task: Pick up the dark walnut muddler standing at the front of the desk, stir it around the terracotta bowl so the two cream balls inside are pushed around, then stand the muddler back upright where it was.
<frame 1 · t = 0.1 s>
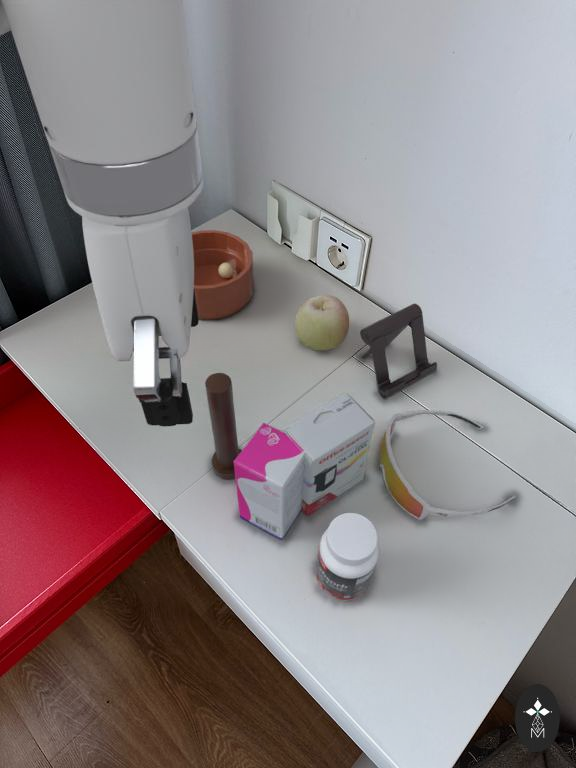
hand: (175, 369, 44), 26 cm above the table, tool pointing down, fingers open, 9 cm apart
ink box: (323, 484, 67), on the table, touching supplement box
pill bottle: (342, 575, 60), on the table
bowl: (210, 291, 88), on the table
supplement box: (273, 509, 65), on the table, touching ink box
ball b: (192, 293, 85), point 2 cm above the table, touching bowl
muddler: (229, 465, 69), on the table
ball a: (226, 270, 88), point 2 cm above the table, touching bowl
fruit: (321, 341, 82), on the table
tablet stand: (391, 370, 79), on the table
sunglasses: (438, 471, 69), on the table
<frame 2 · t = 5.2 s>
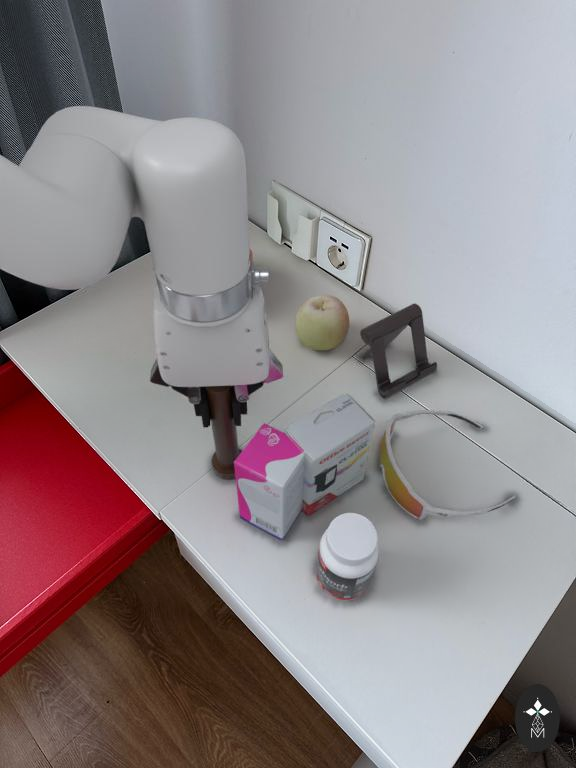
hand: (222, 415, 61), 10 cm above the table, tool pointing down, fingers closed on muddler, 2 cm apart
muddler: (229, 465, 69), on the table, touching gripper
everything else where it was.
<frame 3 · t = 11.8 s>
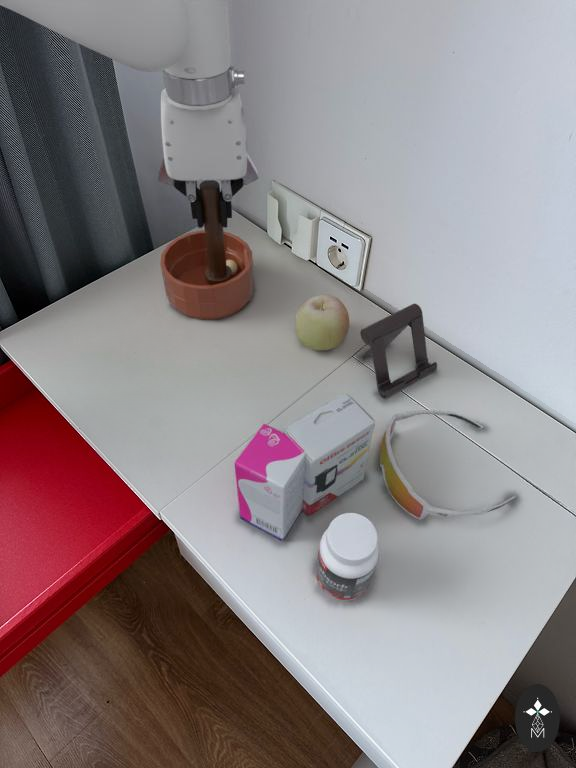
hand: (212, 220, 79), 12 cm above the table, tool pointing down, fingers closed on muddler, 2 cm apart
muddler: (219, 278, 87), point 2 cm above the table, touching ball a, gripper
ball a: (229, 267, 89), point 2 cm above the table, tilted 40°, touching bowl, muddler
everything else where it was.
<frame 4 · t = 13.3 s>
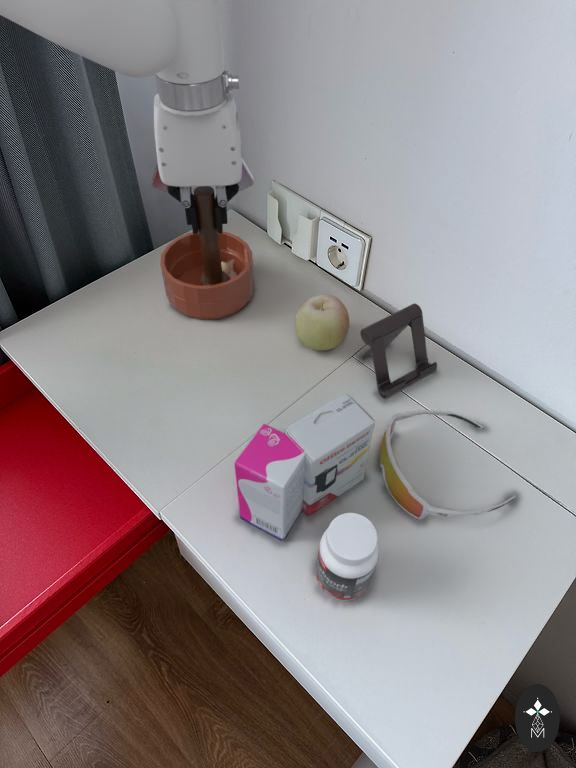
hand: (208, 226, 78), 13 cm above the table, tool pointing down, fingers closed on muddler, 2 cm apart
ball b: (194, 299, 84), point 2 cm above the table, tilted 44°, touching bowl
muddler: (214, 284, 85), point 2 cm above the table, touching gripper
ball a: (222, 269, 88), point 2 cm above the table, tilted 19°, touching bowl
everything else where it was.
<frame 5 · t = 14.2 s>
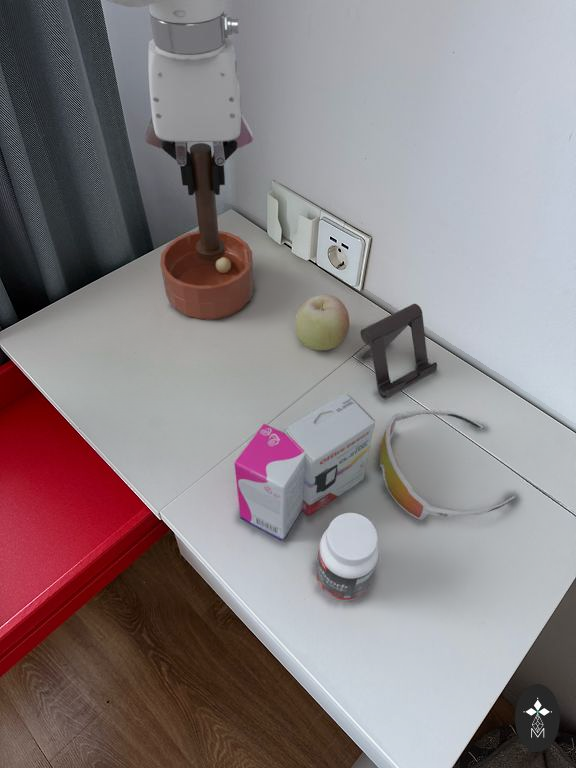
hand: (204, 188, 74), 18 cm above the table, tool pointing down, fingers closed on muddler, 2 cm apart
muddler: (210, 252, 82), point 8 cm above the table, touching gripper
ball a: (223, 265, 89), point 2 cm above the table, tilted 32°, touching bowl
everything else where it was.
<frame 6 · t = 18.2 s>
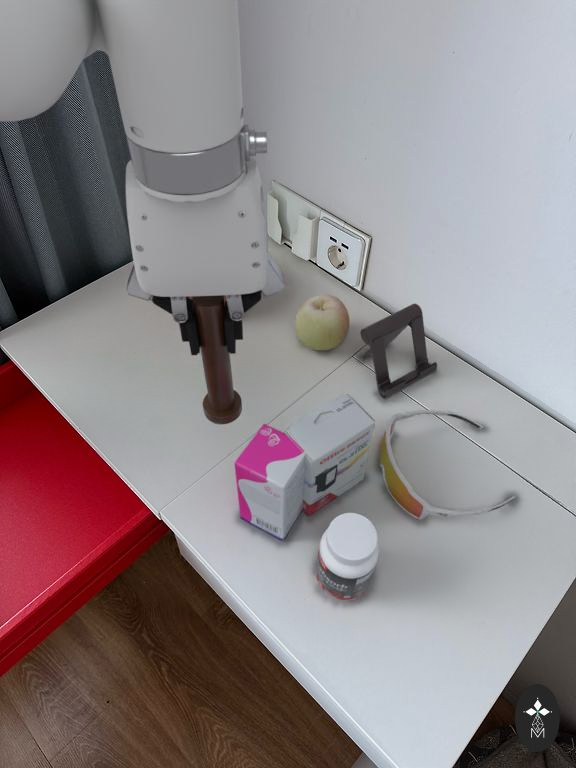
hand: (213, 341, 52), 21 cm above the table, tool pointing down, fingers closed on muddler, 2 cm apart
ball b: (195, 298, 84), point 2 cm above the table, tilted 33°, touching bowl
muddler: (223, 409, 60), point 11 cm above the table, touching gripper
ball a: (212, 275, 87), point 2 cm above the table, tilted 107°, touching bowl
everything else where it was.
when the fingers open (10 cm above the table, at t = 21.4 s): muddler stays where it is, on the table.
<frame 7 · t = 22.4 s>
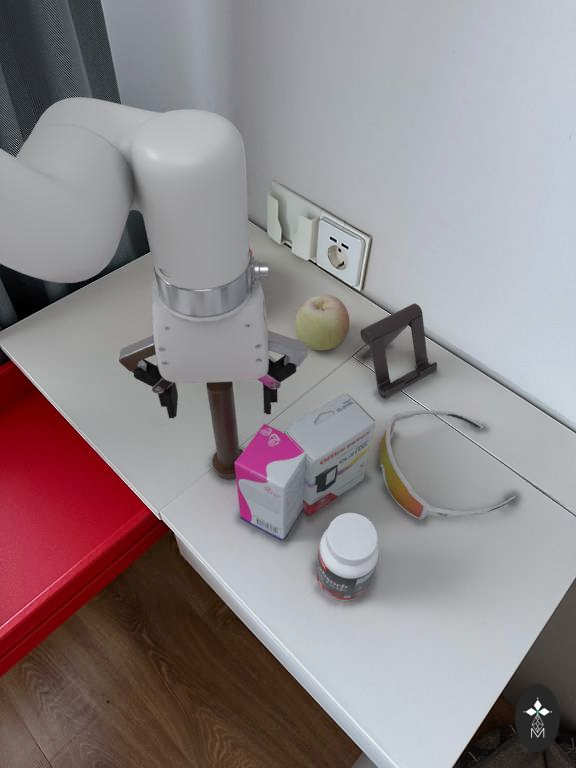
hand: (220, 405, 59), 12 cm above the table, tool pointing down, fingers open, 9 cm apart
ball b: (196, 297, 84), point 2 cm above the table, tilted 24°, touching bowl
muddler: (230, 465, 69), on the table
ball a: (199, 286, 86), point 2 cm above the table, tilted 107°, touching bowl
everything else where it was.
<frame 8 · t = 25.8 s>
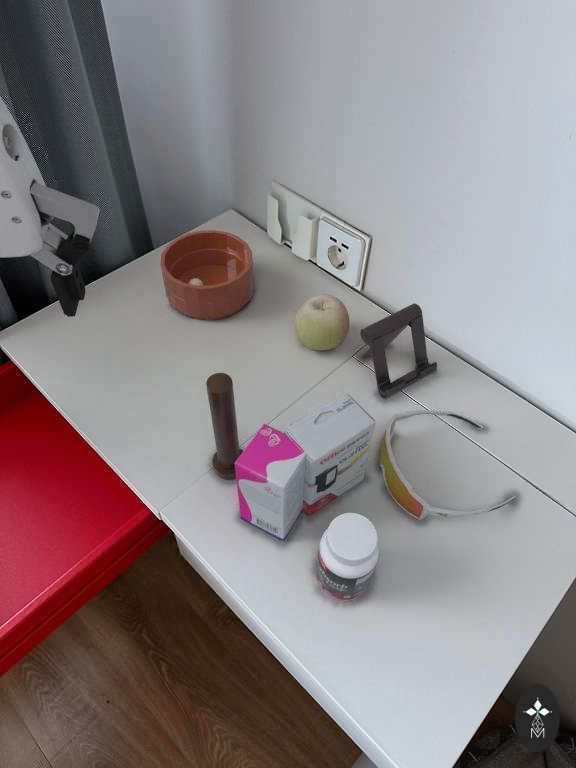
hand: (11, 306, 45), 28 cm above the table, tool pointing down, fingers open, 9 cm apart
ball b: (193, 297, 84), point 2 cm above the table, tilted 49°, touching bowl
ball a: (195, 286, 86), point 2 cm above the table, tilted 95°, touching bowl
everything else where it was.
at the end: ball a moved 5.7 cm from its start; muddler tilted 0°; muddler 0.1 cm from the target spot, on the table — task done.
